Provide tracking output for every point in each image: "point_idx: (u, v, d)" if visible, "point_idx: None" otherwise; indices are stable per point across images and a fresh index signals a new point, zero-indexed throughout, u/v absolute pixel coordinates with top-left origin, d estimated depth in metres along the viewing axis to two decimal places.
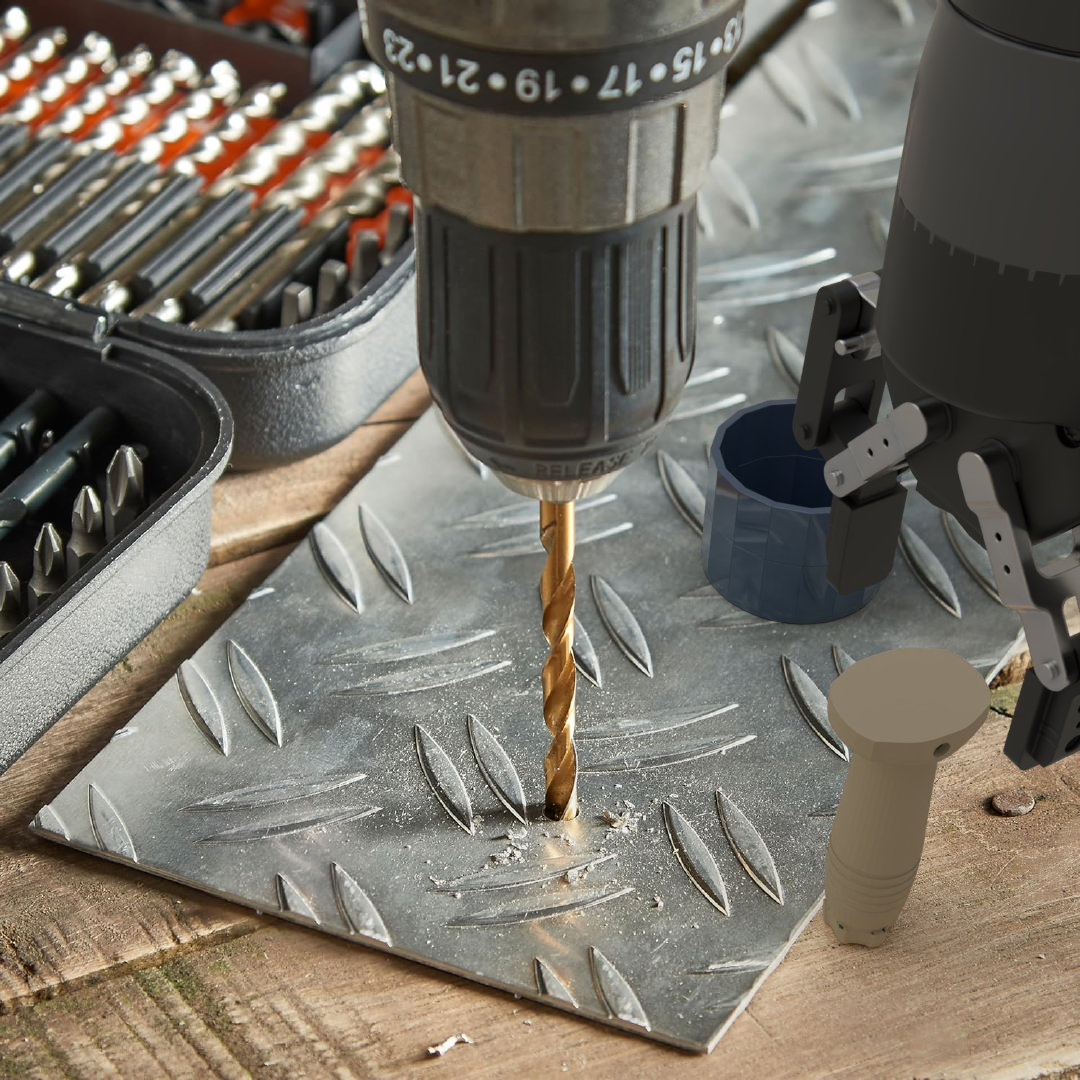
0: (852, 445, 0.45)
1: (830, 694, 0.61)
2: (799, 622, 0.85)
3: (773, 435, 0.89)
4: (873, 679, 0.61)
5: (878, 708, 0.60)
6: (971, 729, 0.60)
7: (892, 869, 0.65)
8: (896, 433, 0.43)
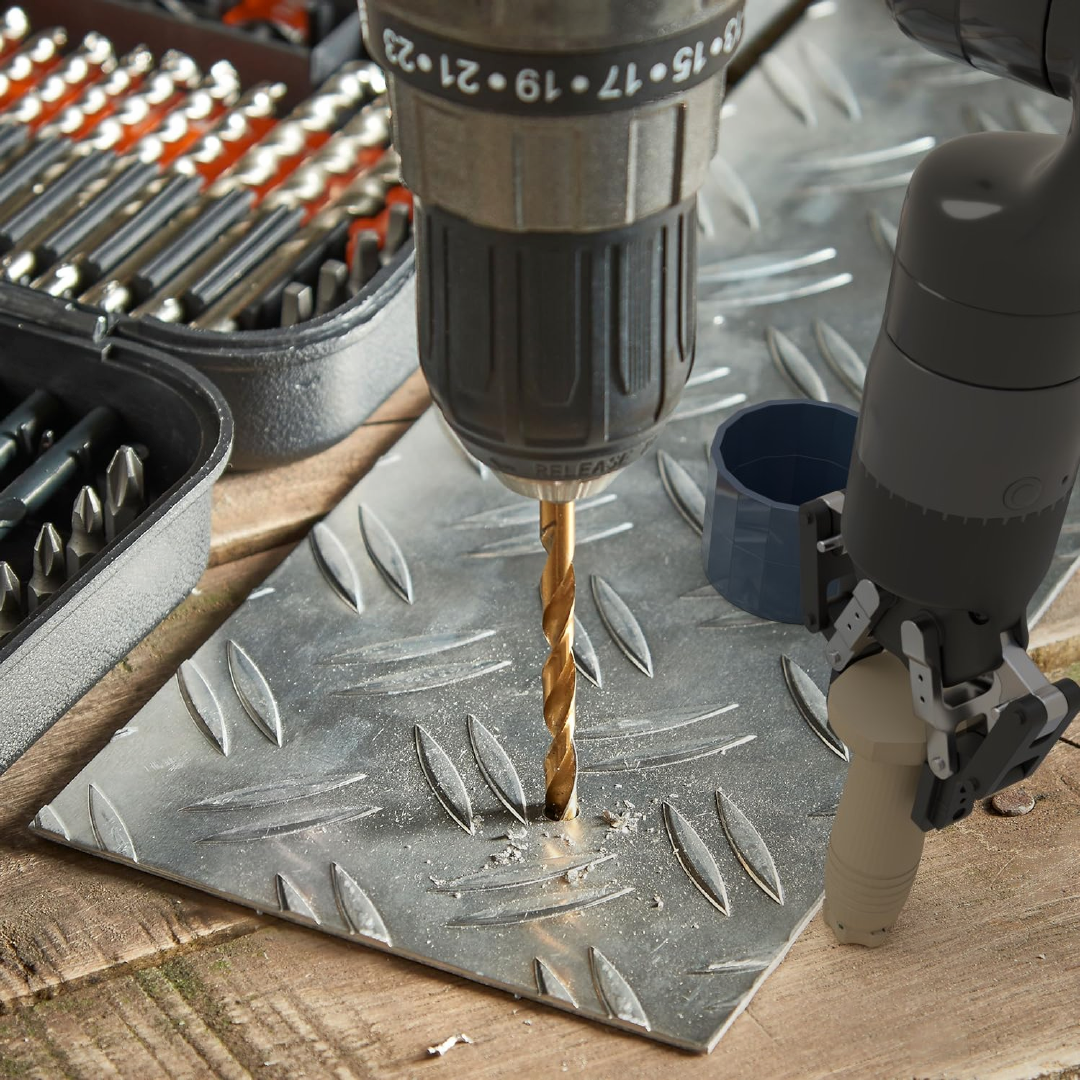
0: (837, 625, 0.61)
1: (830, 694, 0.61)
2: (799, 622, 0.85)
3: (773, 435, 0.89)
4: (873, 679, 0.61)
5: (878, 708, 0.60)
6: None
7: (892, 869, 0.65)
8: (861, 605, 0.58)
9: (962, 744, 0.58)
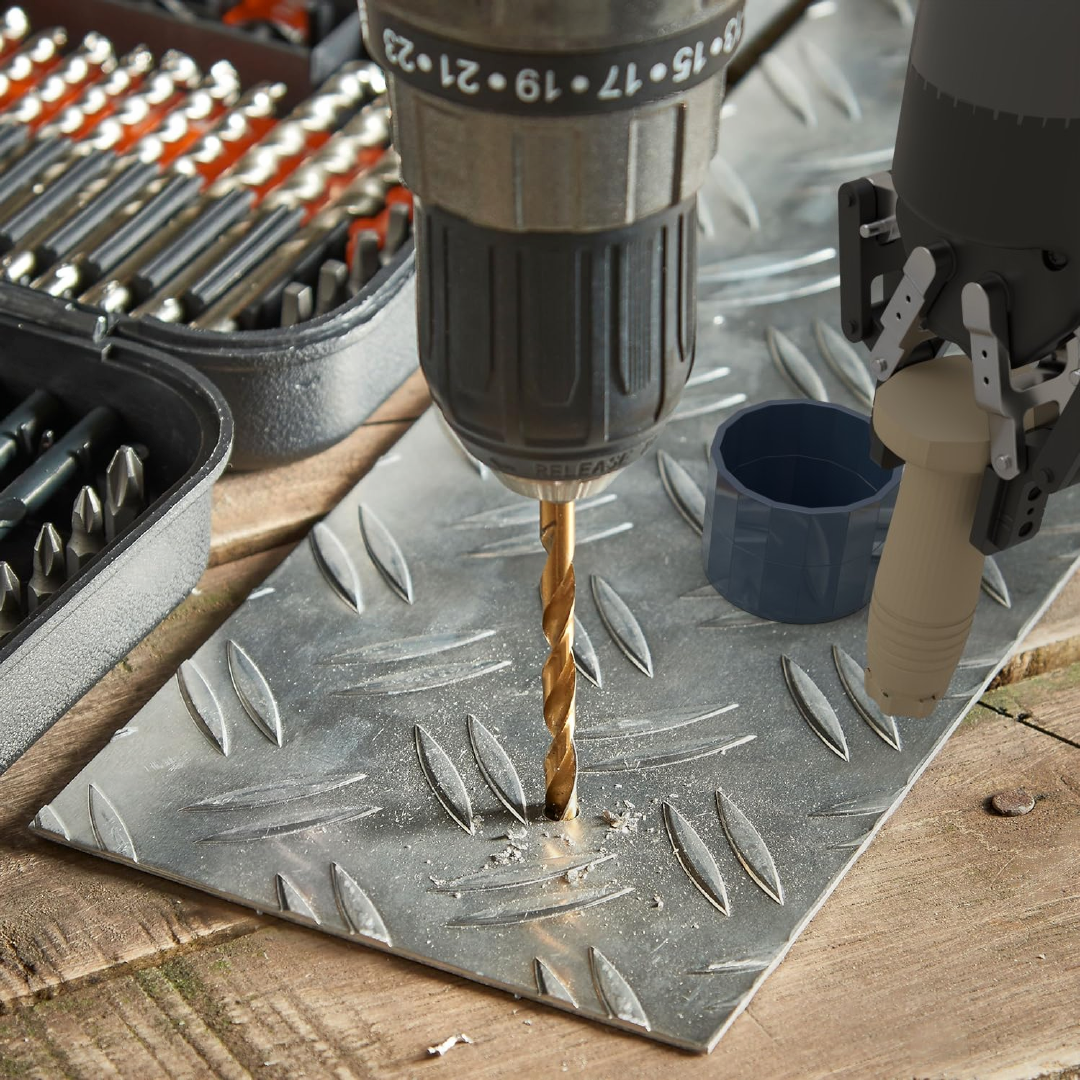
0: (884, 318, 0.53)
1: (877, 398, 0.53)
2: (799, 622, 0.85)
3: (773, 435, 0.89)
4: (925, 384, 0.54)
5: (932, 410, 0.53)
6: None
7: (945, 614, 0.57)
8: (913, 281, 0.51)
9: (1031, 438, 0.51)
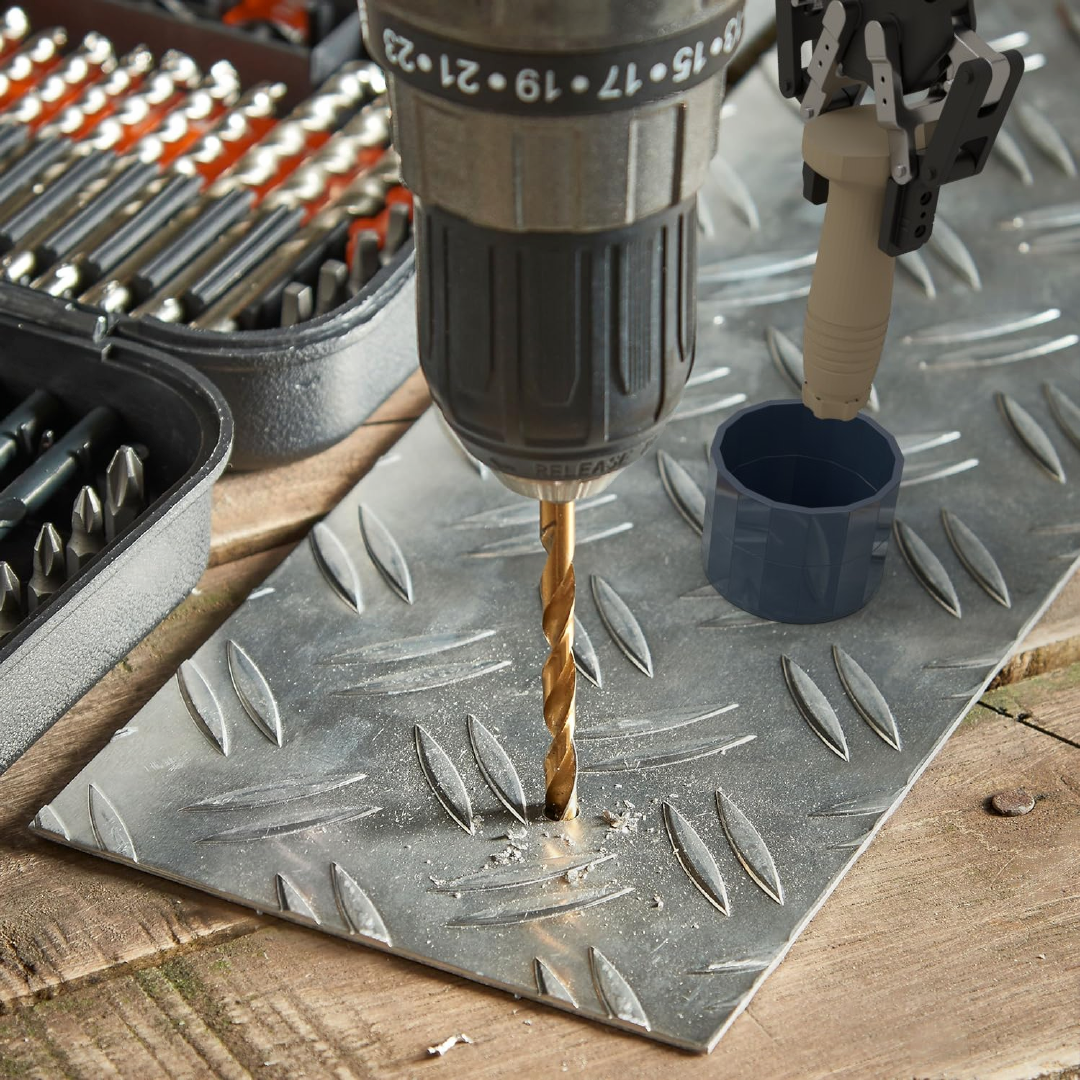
0: (809, 68, 0.68)
1: (804, 131, 0.68)
2: (799, 622, 0.85)
3: (773, 435, 0.89)
4: (842, 122, 0.68)
5: (846, 137, 0.67)
6: None
7: (862, 318, 0.72)
8: (830, 30, 0.65)
9: (921, 151, 0.65)
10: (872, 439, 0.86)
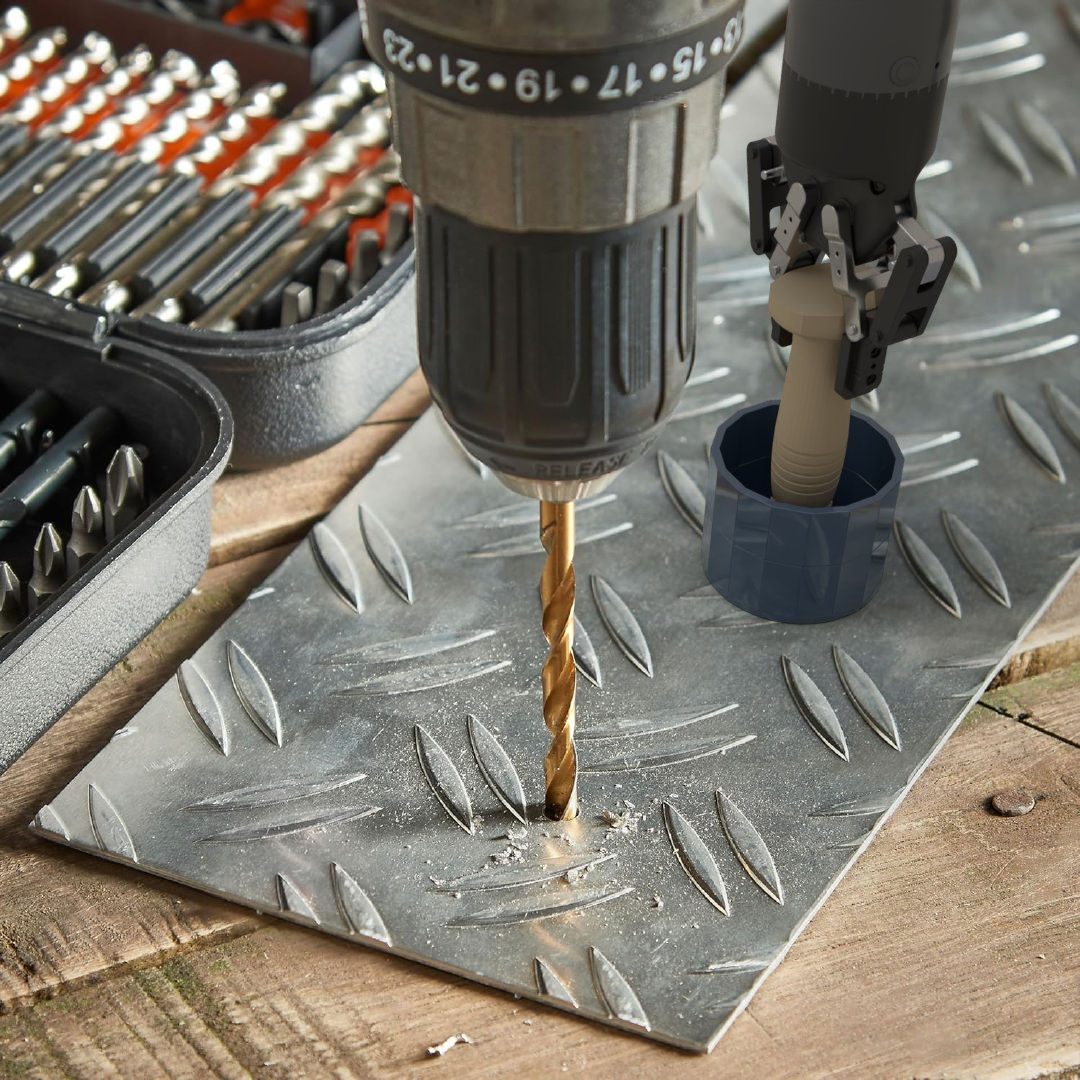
0: (776, 234, 0.77)
1: (770, 289, 0.77)
2: (799, 622, 0.85)
3: (773, 435, 0.89)
4: (804, 280, 0.78)
5: (807, 296, 0.77)
6: None
7: (822, 448, 0.82)
8: (792, 207, 0.75)
9: (871, 313, 0.75)
10: (872, 439, 0.86)
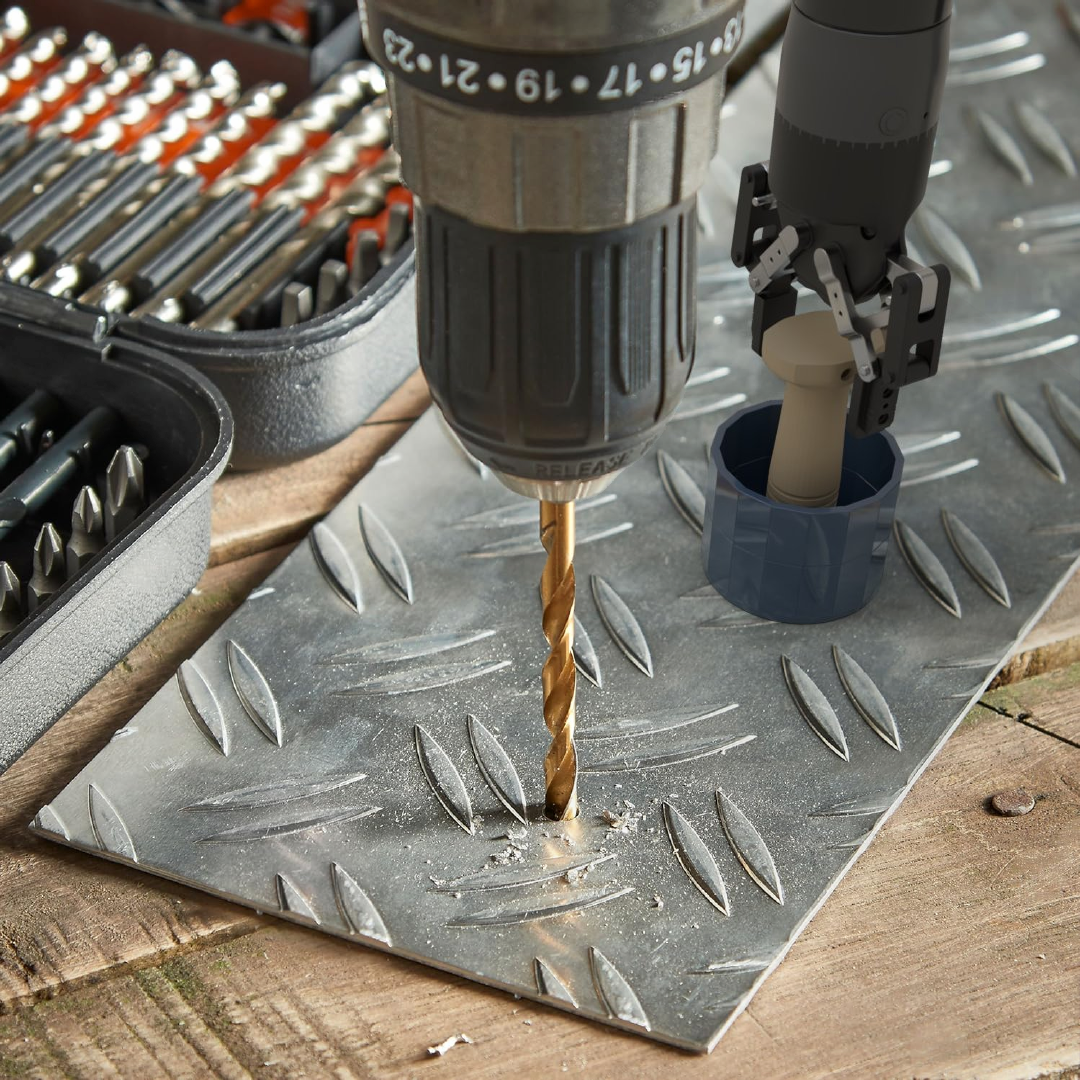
0: (762, 257, 0.79)
1: (763, 337, 0.79)
2: (799, 622, 0.85)
3: (773, 435, 0.89)
4: (797, 329, 0.80)
5: (800, 345, 0.79)
6: None
7: (815, 490, 0.83)
8: (783, 244, 0.77)
9: (883, 354, 0.75)
10: (872, 439, 0.86)
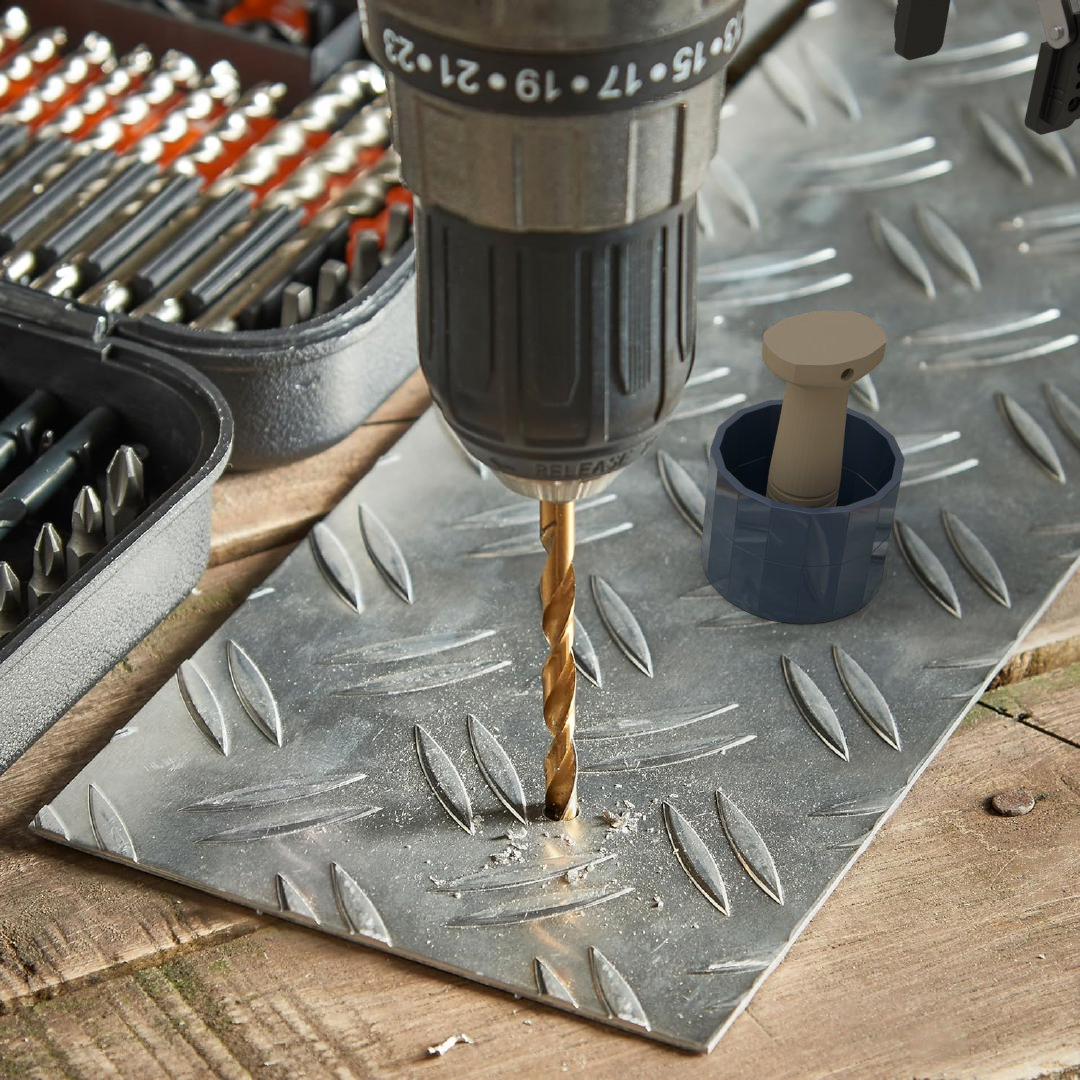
0: None
1: (763, 337, 0.79)
2: (799, 622, 0.85)
3: (773, 435, 0.89)
4: (797, 329, 0.80)
5: (800, 345, 0.79)
6: (870, 360, 0.78)
7: (815, 490, 0.83)
8: None
9: None
10: (872, 439, 0.86)
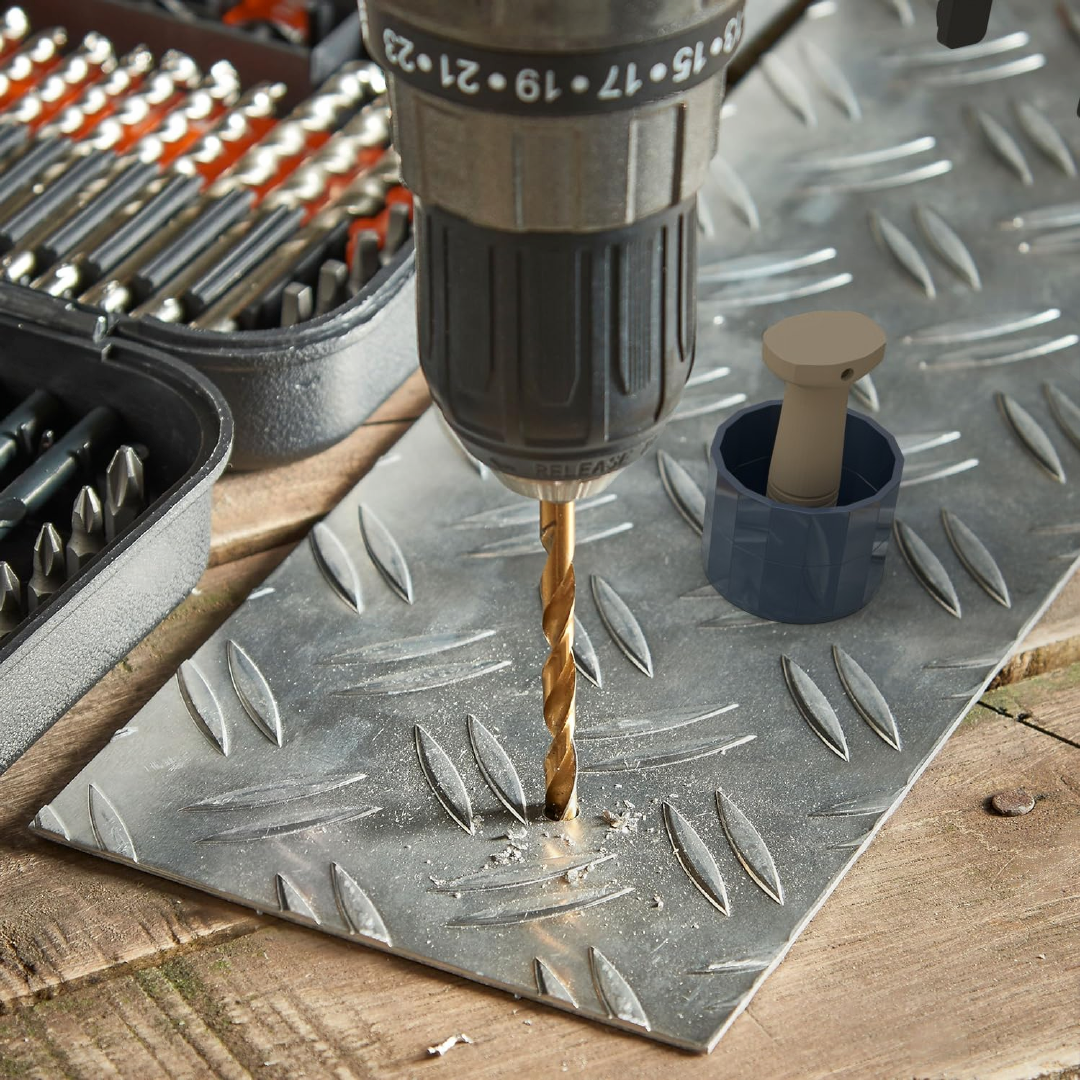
0: None
1: (763, 337, 0.79)
2: (799, 622, 0.85)
3: (773, 435, 0.89)
4: (797, 329, 0.80)
5: (800, 345, 0.79)
6: (870, 360, 0.78)
7: (815, 490, 0.83)
8: None
9: None
10: (872, 439, 0.86)
